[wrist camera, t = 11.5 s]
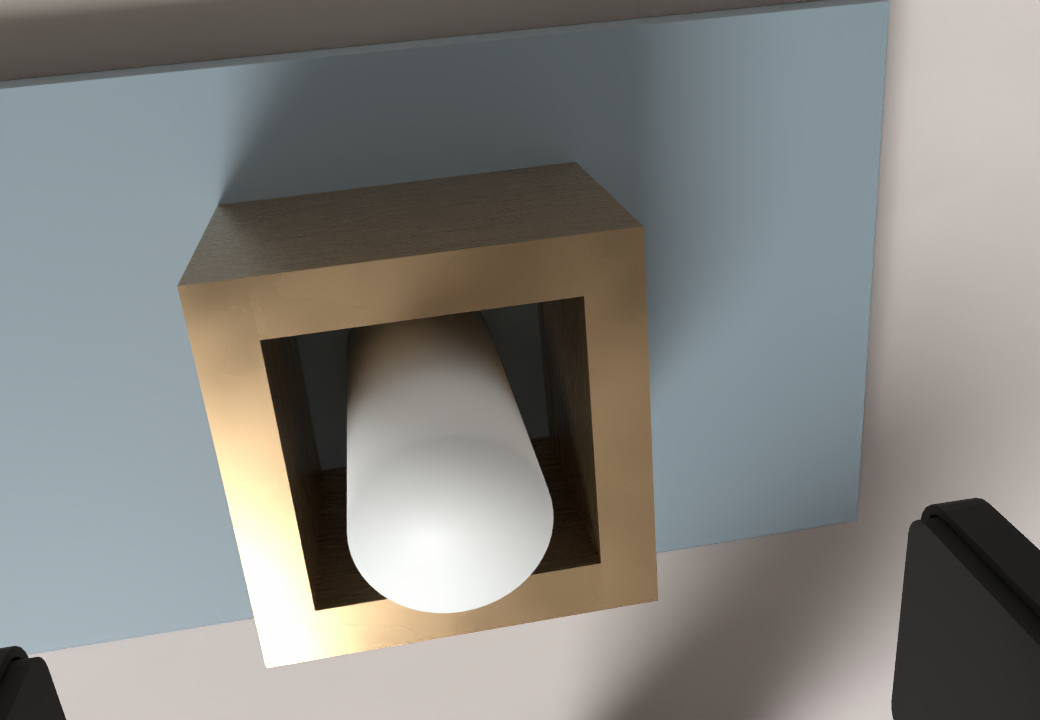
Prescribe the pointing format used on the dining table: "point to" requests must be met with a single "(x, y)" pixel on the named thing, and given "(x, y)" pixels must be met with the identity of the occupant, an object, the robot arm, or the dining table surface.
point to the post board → (411, 114)
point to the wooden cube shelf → (413, 295)
